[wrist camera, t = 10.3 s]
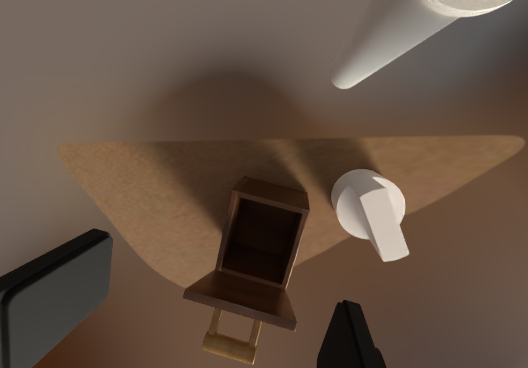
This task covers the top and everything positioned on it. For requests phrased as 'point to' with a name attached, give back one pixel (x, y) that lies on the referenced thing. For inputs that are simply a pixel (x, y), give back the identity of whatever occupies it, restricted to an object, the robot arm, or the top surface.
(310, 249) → the top surface
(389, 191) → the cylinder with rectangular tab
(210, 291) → the compartment lid
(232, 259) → the compartment
